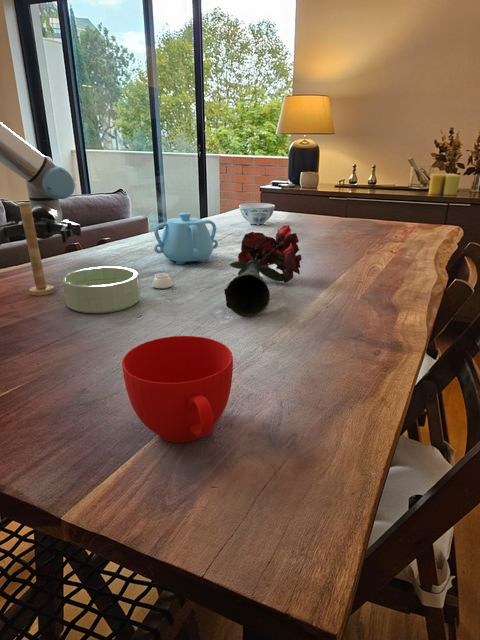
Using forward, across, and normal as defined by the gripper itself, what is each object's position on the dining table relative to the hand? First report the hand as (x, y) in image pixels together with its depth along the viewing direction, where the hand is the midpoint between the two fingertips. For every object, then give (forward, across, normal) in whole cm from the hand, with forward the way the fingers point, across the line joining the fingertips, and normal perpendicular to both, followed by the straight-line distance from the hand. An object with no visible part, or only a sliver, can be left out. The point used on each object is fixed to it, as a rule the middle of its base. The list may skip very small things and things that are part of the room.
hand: (30, 238), depth 102 cm
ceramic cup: (+66, -25, -13) cm, 71 cm away
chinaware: (-79, -76, -13) cm, 110 cm away
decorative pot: (-23, -38, -13) cm, 46 cm away
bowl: (+11, -14, -13) cm, 22 cm away
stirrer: (0, 0, -13) cm, 13 cm away
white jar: (+2, -28, -13) cm, 31 cm away
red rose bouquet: (+13, -50, -13) cm, 54 cm away
